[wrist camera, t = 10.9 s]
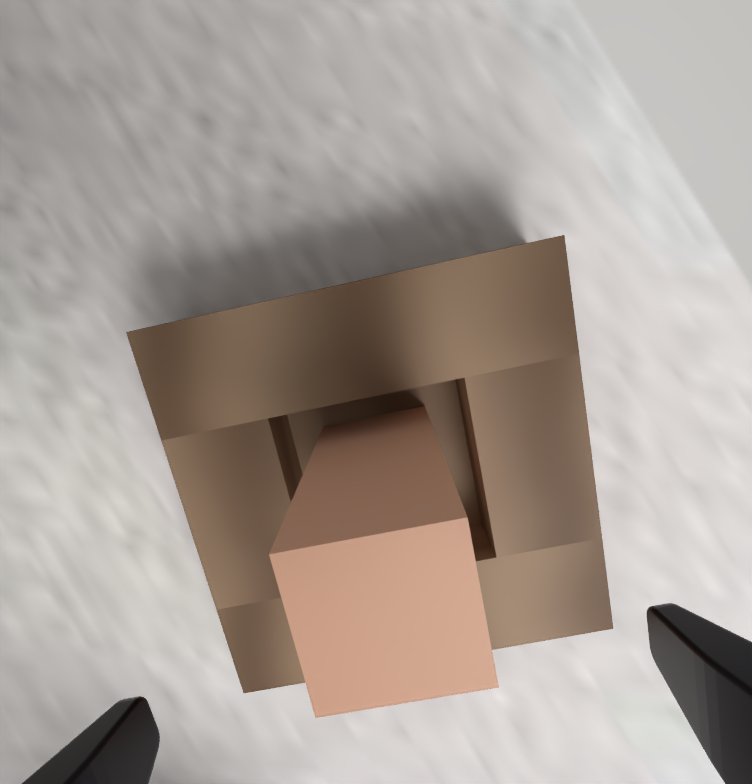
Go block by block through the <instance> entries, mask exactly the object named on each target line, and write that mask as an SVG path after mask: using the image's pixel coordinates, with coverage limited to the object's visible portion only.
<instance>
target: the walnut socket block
mask: <svg viewBox="0 0 752 784" xmlns="http://www.w3.org/2000/svg"><path fill="white" fill-rule="evenodd" d="M126 333H127V336H128V339H129V342H130V345H131V348H132V351H133V355H134V358H135V361H136V364H137V367H138V370H139V373H140V376H141V379H142V382H143V385H144V388H145V391H146V394H147V398H148V401H149V404H150V407H151V410H152V413H153V416H154V419H155V422H156V425H157V428H158V431H159V434H160V437H161V441H162V444H163V447H164V450H165V453H166V456H167V459H168V462H169V465H170V468H171V471H172V474H173V477H174V480H175V483H176V487H177V490H178V493H179V496H180V499H181V502H182V505H183V508H184V511H185V514H186V517H187V520H188V523H189V526H190V530H191V533H192V536H193V539H194V542H195V545H196V548H197V551H198V554H199V557H200V560H201V563H202V566H203V569H204V573H205V576H206V579H207V582H208V585H209V588H210V591H211V594H212V597H213V600H214V603H215V606H216V609H217V612H218V615H219V619H220V622H221V625H222V628H223V631H224V634H225V637H226V640H227V643H228V646H229V649H230V652H231V655H232V658H233V662H234V665H235V668H236V671H237V674H238V677H239V680H240V683H241V686H242V689H243V692H244V693H248V692H254V691H259V690H265V689H271V688H276V687H282V686H288V685H294V684H299V683H305V679H304V675H303V672H302V668H301V665H300V661H299V658H298V654H297V651H296V647H295V644H294V640H293V637H292V633H291V630H290V626H289V623H288V619H287V616H286V612H285V609H284V605H283V602H282V598H281V595H280V591H279V588H278V584H277V581H276V577H275V574H274V570H273V567H272V563H271V560H270V556H269V553H270V551H271V549H272V546H273V544H274V541H275V539H276V537H277V534H278V532H279V530H280V527H281V525H282V523H283V520H284V518H285V516H286V513H287V511H288V509H289V506H290V504H291V501H292V499H293V497H294V494H295V492H296V490H297V487H298V485H299V483H300V480H301V478H302V476H303V473H304V471H305V469H306V466H307V464H308V461H309V459H310V457H311V454H312V452H313V450H314V447H315V445H316V443H317V440H318V438H319V436H320V433H321V431H322V429H323V426H328V425H333V424H338V423H343V422H348V421H353V420H358V419H363V418H368V417H373V416H378V415H383V414H388V413H393V412H398V411H403V410H408V409H413V408H418V407H423V406H425V408H426V410H427V413H428V416H429V418H430V421H431V423H432V426H433V429H434V431H435V434H436V436H437V439H438V442H439V444H440V447H441V449H442V452H443V455H444V457H445V460H446V462H447V465H448V468H449V470H450V473H451V475H452V478H453V481H454V483H455V486H456V488H457V491H458V494H459V496H460V499H461V502H462V504H463V507H464V509H465V512H466V515H467V517H468V522H469V528H470V533H471V539H472V544H473V550H474V555H475V561H476V566H477V571H478V577H479V582H480V588H481V593H482V599H483V604H484V610H485V615H486V621H487V626H488V631H489V637H490V642H491V648H492V650H494V649H499V648H505V647H511V646H516V645H522V644H528V643H534V642H539V641H545V640H551V639H556V638H562V637H568V636H574V635H579V634H585V633H591V632H596V631H602V630H608V629H613V623H612V615H611V607H610V599H609V591H608V583H607V575H606V567H605V559H604V550H603V542H602V534H601V526H600V518H599V510H598V502H597V494H596V486H595V478H594V470H593V462H592V454H591V446H590V438H589V430H588V422H587V414H586V406H585V398H584V390H583V382H582V374H581V366H580V358H579V350H578V342H577V334H576V326H575V318H574V309H573V301H572V293H571V285H570V277H569V269H568V261H567V253H566V245H565V237H564V235H562V236H558V237H553V238H549V239H544V240H540V241H535V242H531V243H526V244H522V245H517V246H513V247H508V248H504V249H499V250H495V251H490V252H486V253H481V254H477V255H472V256H468V257H463V258H459V259H454V260H450V261H445V262H441V263H436V264H432V265H427V266H423V267H418V268H414V269H409V270H404V271H400V272H395V273H391V274H386V275H382V276H377V277H373V278H368V279H364V280H359V281H355V282H350V283H346V284H341V285H337V286H332V287H328V288H323V289H319V290H314V291H310V292H305V293H301V294H296V295H292V296H287V297H283V298H278V299H274V300H269V301H265V302H260V303H256V304H251V305H247V306H242V307H238V308H233V309H229V310H224V311H220V312H215V313H211V314H206V315H202V316H197V317H193V318H188V319H184V320H179V321H175V322H170V323H166V324H161V325H157V326H152V327H147V328H143V329H138V330H134V331H129V332H126Z"/></svg>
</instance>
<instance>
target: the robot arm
mask: <svg viewBox="0 0 752 784" xmlns="http://www.w3.org/2000/svg"><path fill="white" fill-rule="evenodd" d="M647 623H648V632H649V642H650V649H651V653H652V656H653V658H654V661H655V663H656V665H657V667H658V668H659V670H660V672H661V674H662V675H663V677H664V679H665V681H666V683H667V684H668V686H669V688H670V690H671V692H672V693H673V695H674V697H675V699H676V701H677V702H678V704H679V706H680V708H681V709H682V711H683V713H684V715H685V717H686V718H687V720H688V722H689V724H690V726H691V727H692V729H693V731H694V733H695V734H696V736H697V738H698V740H699V742H700V743H701V745H702V747H703V749H704V750H705V752H706V754H707V755H708V757H709V759H710V761H711V762H712V764H713V765H714V767H715V768H716V770H717V772H718V773H719V775H720V776H721V778H722V779H723V781H724V782H725V784H752V642H751V641H748V640H746V639H744V638H742V637H740V636H738V635H736V634H734V633H732V632H730V631H728V630H726V629H724V628H722V627H720V626H718V625H716V624H714V623H712V622H710V621H708V620H706V619H704V618H702V617H700V616H698V615H696V614H694V613H692V612H690V611H688V610H686V609H684V608H682V607H680V606H678V605H676V604H672V603H667V604H662V605H656V606H651V607H649V608H648V610H647ZM159 741H160V736H159V730H158V727H157V725H156V722H155V720H154V717H153V714H152V712H151V709H150V707H149V704H148V702H147V700H146V699H145V698H144V697H140V696H139V697H133V698H128V699H123V700H120V701H119V702H117V703H116V704H115V705H114V706H112V707H111V708H110V709H109V710H108V711H107V712H105V713H104V714H103V715H102V716H101V717H99V718H98V719H97V720H96V721H95V722H94V723H92V724H91V725H90V726H89V727H88V728H87V729H85V730H84V731H83V732H82V733H81V734H80V735H78V736H77V737H76V738H75V739H74V740H72V741H71V742H70V743H69V744H68V745H67V746H65V747H64V748H63V749H62V750H61V751H60V752H58V753H57V754H56V755H55V756H54V757H53V758H51V759H50V760H49V761H48V762H47V763H46V764H44V765H43V766H42V767H41V768H40V769H38V770H37V771H36V772H35V773H34V774H33V775H31V776H30V777H29V778H28V779H27V780H26V781H24V782H23V783H22V784H148V783H149V780H150V776H151V773H152V769H153V766H154V762H155V759H156V755H157V752H158V748H159Z"/></svg>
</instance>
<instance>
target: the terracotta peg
mask: <svg viewBox="0 0 752 784" xmlns="http://www.w3.org/2000/svg"><path fill="white" fill-rule="evenodd" d="M269 556H270V560H271V563H272V567H273V570H274V574H275V577H276V581H277V584H278V588H279V591H280V595H281V598H282V602H283V605H284V609H285V612H286V616H287V619H288V623H289V626H290V630H291V633H292V637H293V640H294V644H295V647H296V651H297V654H298V658H299V661H300V665H301V668H302V672H303V675H304V679H305V682H306V686H307V689H308V693H309V696H310V700H311V703H312V707H313V710H314V714H315V717H316V718H318V717H324V716H330V715H336V714H342V713H348V712H354V711H360V710H366V709H372V708H378V707H384V706H390V705H396V704H402V703H408V702H414V701H420V700H426V699H432V698H438V697H444V696H450V695H456V694H462V693H468V692H474V691H480V690H486V689H492V688H498V687H499V686H498V681H497V675H496V670H495V664H494V659H493V653H492V648H491V642H490V637H489V631H488V626H487V621H486V615H485V610H484V604H483V599H482V593H481V588H480V582H479V577H478V571H477V566H476V561H475V555H474V550H473V544H472V539H471V533H470V528H469V522H468V517H467V515H466V512H465V509H464V507H463V504H462V502H461V499H460V496H459V494H458V491H457V488H456V486H455V483H454V481H453V478H452V475H451V473H450V470H449V468H448V465H447V462H446V460H445V457H444V455H443V452H442V449H441V447H440V444H439V442H438V439H437V436H436V434H435V431H434V429H433V426H432V423H431V421H430V418H429V416H428V413H427V410H426V408H425V406H423V407H418V408H413V409H408V410H403V411H398V412H393V413H388V414H383V415H378V416H373V417H368V418H363V419H358V420H353V421H348V422H343V423H338V424H333V425H328V426H323V429H322V431H321V433H320V436H319V438H318V440H317V443H316V445H315V447H314V450H313V452H312V454H311V457H310V459H309V461H308V464H307V466H306V469H305V471H304V473H303V476H302V478H301V480H300V483H299V485H298V487H297V490H296V492H295V494H294V497H293V499H292V501H291V504H290V506H289V509H288V511H287V513H286V516H285V518H284V520H283V523H282V525H281V527H280V530H279V532H278V534H277V537H276V539H275V541H274V544H273V546H272V549H271V551H270V553H269Z"/></svg>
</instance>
